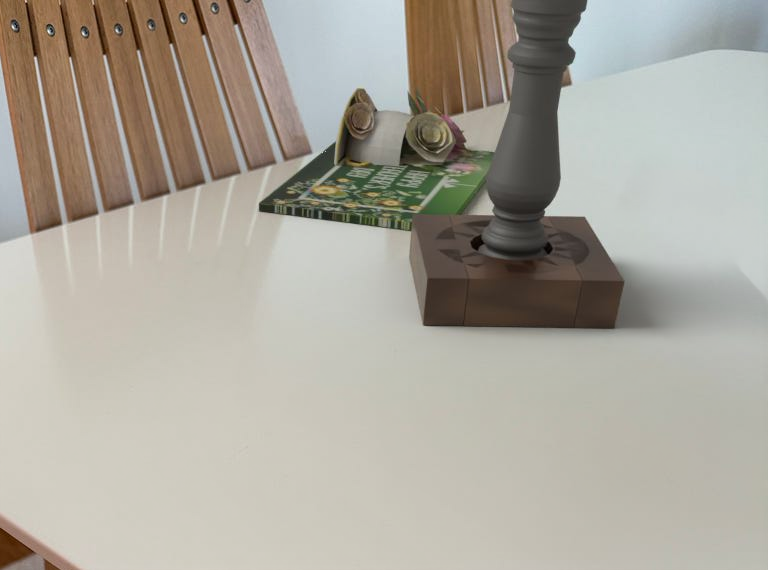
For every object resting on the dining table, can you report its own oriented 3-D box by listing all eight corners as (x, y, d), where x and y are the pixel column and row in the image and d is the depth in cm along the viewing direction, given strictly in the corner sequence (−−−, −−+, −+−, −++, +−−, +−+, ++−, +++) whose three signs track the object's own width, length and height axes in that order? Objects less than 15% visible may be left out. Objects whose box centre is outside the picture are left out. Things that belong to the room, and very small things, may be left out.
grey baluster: (504, 272, 97) (549, -49, 81) (556, 292, 93) (615, -41, 77) (457, 288, 94) (495, -43, 78) (510, 309, 90) (561, -34, 74)
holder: (576, 259, 99) (584, 216, 97) (614, 328, 87) (624, 281, 84) (408, 257, 99) (412, 213, 97) (422, 325, 87) (427, 278, 85)
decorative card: (355, 66, 128) (517, 81, 123) (352, 134, 133) (507, 150, 128) (258, 131, 105) (453, 152, 99) (258, 210, 109) (445, 234, 104)
